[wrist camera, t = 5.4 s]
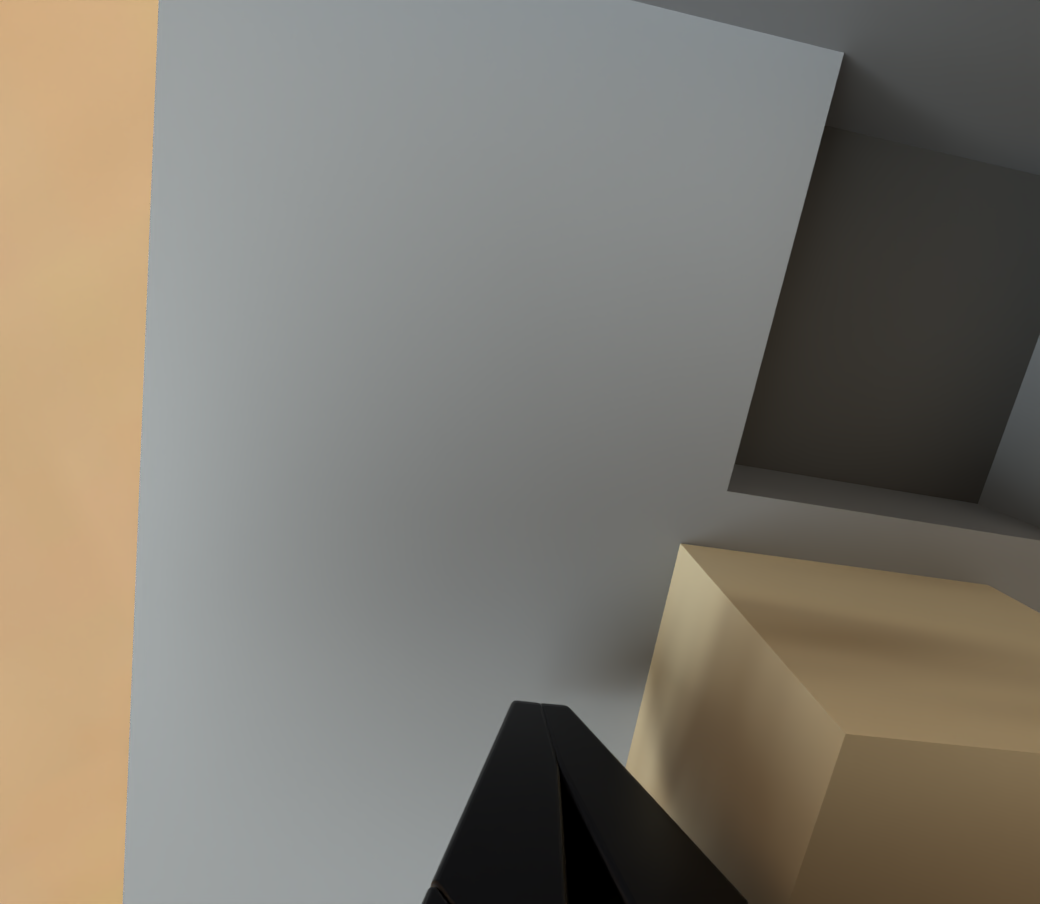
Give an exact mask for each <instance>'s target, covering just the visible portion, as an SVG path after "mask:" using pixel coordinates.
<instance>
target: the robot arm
mask: <svg viewBox="0 0 1040 904" xmlns="http://www.w3.org/2000/svg"><path fill="white" fill-rule="evenodd" d="M422 904H748V901H747V899H746V898H745V897H744V896H743V895H742V894H741V893H740V892H739V891H738V890H737V889H736V887H735V886H734V885H733V884H732V883H731V882H730V881H729V880H728V879H727V878H726V877H725V875H724V874H723V873H722V872H721V871H720V870H719V869H718V868H717V867H716V866H715V865H714V864H713V862H712V861H711V860H710V859H709V858H708V857H707V856H706V855H705V854H704V853H703V852H702V851H701V849H700V848H699V847H698V846H697V845H696V844H695V843H694V842H693V841H692V840H691V839H690V837H689V836H688V835H687V834H686V833H685V832H684V831H683V830H682V829H681V828H680V827H679V826H678V824H677V823H676V822H675V821H674V820H673V819H672V818H671V817H670V816H669V815H668V814H667V813H666V811H665V810H664V809H663V808H662V807H661V806H660V805H659V804H658V803H657V802H656V801H655V799H654V798H653V797H652V796H651V795H650V794H649V793H648V792H647V791H646V790H645V789H644V788H643V786H642V785H641V784H640V783H639V782H638V781H637V780H636V779H635V778H634V777H633V776H632V775H631V773H630V772H629V771H628V770H627V769H626V768H625V767H624V766H623V765H622V764H621V763H620V762H619V760H618V759H617V758H616V757H615V756H614V755H613V754H612V753H611V752H610V751H609V750H608V748H607V747H606V746H605V745H604V744H603V743H602V742H601V741H600V740H599V739H598V738H597V737H596V735H595V734H594V733H593V732H592V731H591V730H590V729H589V728H588V727H587V726H586V725H585V724H584V722H583V721H582V720H581V719H580V718H579V717H578V716H577V715H576V714H575V713H574V712H573V710H572V709H571V708H569V707H568V706H566V705H558V704H548V703H541V704H540V703H537V702H528V701H518V700H515V701H513V702H512V703H511V705H510V707H509V709H508V711H507V714H506V716H505V718H504V720H503V723H502V725H501V727H500V729H499V732H498V734H497V736H496V738H495V741H494V743H493V745H492V747H491V750H490V752H489V754H488V756H487V759H486V761H485V763H484V765H483V768H482V770H481V772H480V774H479V777H478V779H477V781H476V783H475V786H474V788H473V790H472V792H471V795H470V797H469V799H468V801H467V804H466V806H465V808H464V810H463V813H462V815H461V817H460V819H459V822H458V824H457V826H456V828H455V831H454V833H453V835H452V837H451V840H450V842H449V844H448V846H447V849H446V851H445V853H444V855H443V857H442V860H441V862H440V864H439V866H438V869H437V871H436V873H435V875H434V878H433V880H432V882H431V886H430V888H429V889H428V890H427V892H426V895H425V897H424V899H423V901H422Z"/></svg>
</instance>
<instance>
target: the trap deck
mask: <svg viewBox="0 0 1040 904" xmlns="http://www.w3.org/2000/svg"><path fill="white" fill-rule="evenodd" d="M680 543H681V544H689V545H696V546H704V547H711V548H718V549H726V550H733V551H741V552H748V553H756V554H763V555H770V556H778V557H785V558H793V559H800V560H808V561H815V562H822V563H830V564H837V565H845V566H852V567H860V568H867V569H874V570H882V571H889V572H896V573H904V574H911V575H918V576H926V577H933V578H940V579H947V580H955V581H962V582H969V583H977V584H984V585H989V586H991V587H993V588H995V589H996V590H998V591H1000V592H1002V593H1004V594H1006V595H1007V596H1009V597H1011V598H1013V599H1015V600H1017V601H1018V602H1020V603H1022V604H1024V605H1026V606H1028V607H1030V608H1031V609H1033V610H1035V611H1037V612H1039V613H1040V0H159V8H158V34H157V59H156V84H155V109H154V134H153V159H152V184H151V209H150V235H149V260H148V285H147V310H146V335H145V360H144V385H143V410H142V435H141V461H140V486H139V511H138V536H137V561H136V586H135V611H134V636H133V662H132V687H131V712H130V737H129V762H128V787H127V812H126V837H125V863H124V888H123V904H422V901H423V899H424V897H425V895H426V892H427V890H428V889H429V888H430V886H431V882H432V880H433V878H434V875H435V873H436V871H437V869H438V866H439V864H440V862H441V860H442V857H443V855H444V853H445V851H446V849H447V846H448V844H449V842H450V840H451V837H452V835H453V833H454V831H455V828H456V826H457V824H458V822H459V819H460V817H461V815H462V813H463V810H464V808H465V806H466V804H467V801H468V799H469V797H470V795H471V792H472V790H473V788H474V786H475V783H476V781H477V779H478V777H479V774H480V772H481V770H482V768H483V765H484V763H485V761H486V759H487V756H488V754H489V752H490V750H491V747H492V745H493V743H494V741H495V738H496V736H497V734H498V732H499V729H500V727H501V725H502V723H503V720H504V718H505V716H506V714H507V711H508V709H509V707H510V705H511V703H512V702H513V701H515V700H518V701H528V702H537V703H540V704H541V703H548V704H558V705H566V706H568V707H569V708H571V709H572V710H573V712H574V713H575V714H576V715H577V716H578V717H579V718H580V719H581V720H582V721H583V722H584V724H585V725H586V726H587V727H588V728H589V729H590V730H591V731H592V732H593V733H594V734H595V735H596V737H597V738H598V739H599V740H600V741H601V742H602V743H603V744H604V745H605V746H606V747H607V748H608V750H609V751H610V752H611V753H612V754H613V755H614V756H615V757H616V758H617V759H618V760H619V762H620V763H621V764H622V765H623V766H624V767H626V763H627V759H628V755H629V751H630V747H631V743H632V739H633V735H634V730H635V726H636V722H637V718H638V714H639V710H640V706H641V702H642V698H643V694H644V690H645V685H646V681H647V677H648V673H649V669H650V665H651V661H652V657H653V653H654V649H655V644H656V640H657V636H658V632H659V628H660V624H661V620H662V616H663V612H664V608H665V604H666V599H667V595H668V591H669V587H670V583H671V579H672V575H673V571H674V567H675V563H676V559H677V554H678V550H679V546H680Z"/></svg>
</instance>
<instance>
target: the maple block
mask: <svg viewBox="0 0 1040 904" xmlns="http://www.w3.org/2000/svg"><path fill="white" fill-rule="evenodd" d="M625 768H626V769H627V770H628V771H629V772H630V773H631V775H632V776H633V777H634V778H635V779H636V780H637V781H638V782H639V783H640V784H641V785H642V786H643V788H644V789H645V790H646V791H647V792H648V793H649V794H650V795H651V796H652V797H653V798H654V799H655V801H656V802H657V803H658V804H659V805H660V806H661V807H662V808H663V809H664V810H665V811H666V813H667V814H668V815H669V816H670V817H671V818H672V819H673V820H674V821H675V822H676V823H677V824H678V826H679V827H680V828H681V829H682V830H683V831H684V832H685V833H686V834H687V835H688V836H689V837H690V839H691V840H692V841H693V842H694V843H695V844H696V845H697V846H698V847H699V848H700V849H701V851H702V852H703V853H704V854H705V855H706V856H707V857H708V858H709V859H710V860H711V861H712V862H713V864H714V865H715V866H716V867H717V868H718V869H719V870H720V871H721V872H722V873H723V874H724V875H725V877H726V878H727V879H728V880H729V881H730V882H731V883H732V884H733V885H734V886H735V887H736V889H737V890H738V891H739V892H740V893H741V894H742V895H743V896H744V897H745V898H746V899H747V901H748V904H1040V613H1039V612H1037V611H1035V610H1033V609H1031V608H1030V607H1028V606H1026V605H1024V604H1022V603H1020V602H1018V601H1017V600H1015V599H1013V598H1011V597H1009V596H1007V595H1006V594H1004V593H1002V592H1000V591H998V590H996V589H995V588H993V587H991V586H989V585H984V584H977V583H969V582H962V581H955V580H947V579H940V578H933V577H926V576H918V575H911V574H904V573H896V572H889V571H882V570H874V569H867V568H860V567H852V566H845V565H837V564H830V563H822V562H815V561H808V560H800V559H793V558H785V557H778V556H770V555H763V554H756V553H748V552H741V551H733V550H726V549H718V548H711V547H704V546H696V545H689V544H681V543H680V546H679V550H678V554H677V559H676V563H675V567H674V571H673V575H672V579H671V583H670V587H669V591H668V595H667V599H666V604H665V608H664V612H663V616H662V620H661V624H660V628H659V632H658V636H657V640H656V644H655V649H654V653H653V657H652V661H651V665H650V669H649V673H648V677H647V681H646V685H645V690H644V694H643V698H642V702H641V706H640V710H639V714H638V718H637V722H636V726H635V730H634V735H633V739H632V743H631V747H630V751H629V755H628V759H627V763H626V767H625Z"/></svg>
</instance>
